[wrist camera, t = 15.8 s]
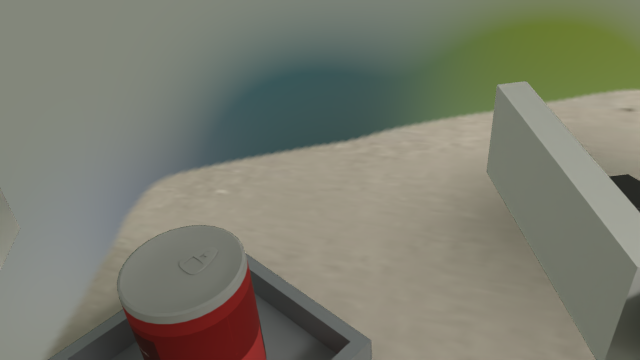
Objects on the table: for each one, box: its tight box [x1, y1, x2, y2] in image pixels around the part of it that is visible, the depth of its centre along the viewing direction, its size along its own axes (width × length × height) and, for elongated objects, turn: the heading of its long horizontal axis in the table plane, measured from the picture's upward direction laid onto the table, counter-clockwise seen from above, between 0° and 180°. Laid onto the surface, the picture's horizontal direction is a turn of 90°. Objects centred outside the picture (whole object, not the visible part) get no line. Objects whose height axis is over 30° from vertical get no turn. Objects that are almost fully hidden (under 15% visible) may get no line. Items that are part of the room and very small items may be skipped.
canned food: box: [117, 225, 266, 360], centre depth 39 cm, size 8×8×11 cm
